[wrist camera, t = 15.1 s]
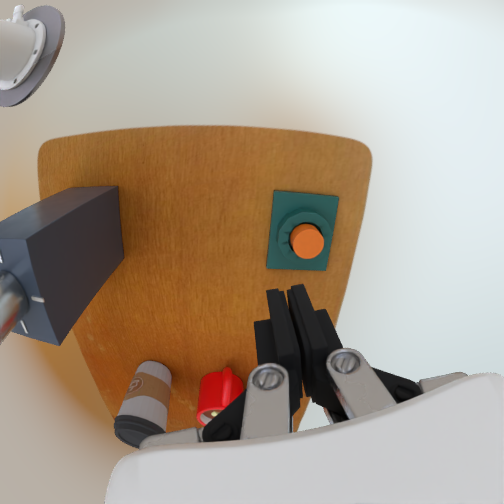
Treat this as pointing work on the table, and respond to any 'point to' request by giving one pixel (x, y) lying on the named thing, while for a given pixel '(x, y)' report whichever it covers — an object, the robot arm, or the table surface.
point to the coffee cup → (144, 404)
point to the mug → (217, 393)
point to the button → (306, 241)
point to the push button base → (292, 215)
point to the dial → (11, 303)
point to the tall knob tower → (62, 256)
